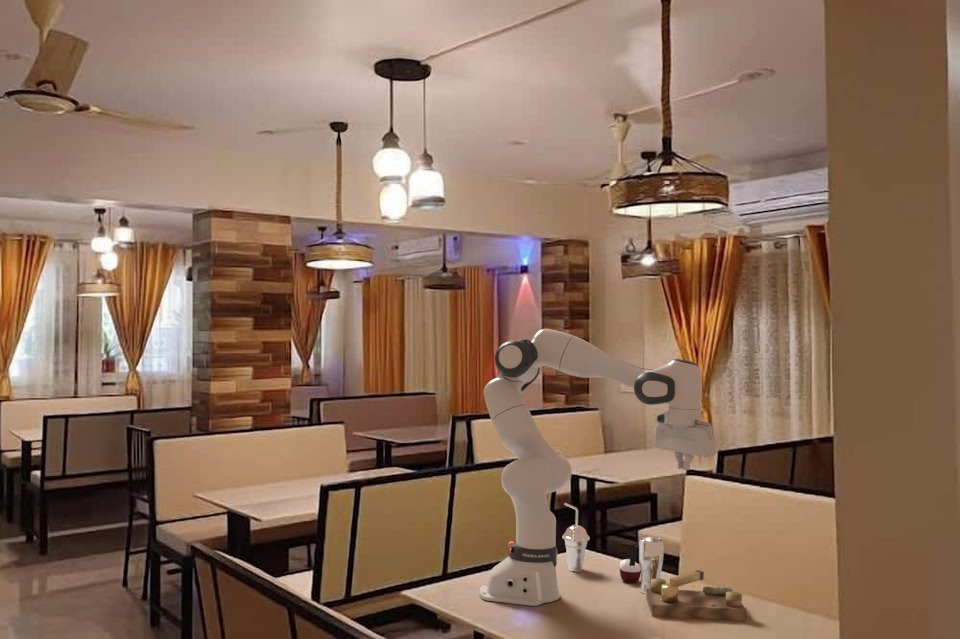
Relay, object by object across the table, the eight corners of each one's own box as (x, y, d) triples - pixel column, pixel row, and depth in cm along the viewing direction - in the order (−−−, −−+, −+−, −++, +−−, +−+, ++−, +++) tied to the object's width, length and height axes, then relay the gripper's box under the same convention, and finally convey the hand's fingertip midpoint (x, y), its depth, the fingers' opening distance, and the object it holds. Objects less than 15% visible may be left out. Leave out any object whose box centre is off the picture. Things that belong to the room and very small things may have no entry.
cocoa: (621, 577, 250) (621, 537, 251) (642, 579, 248) (642, 539, 249) (617, 585, 241) (616, 543, 242) (638, 586, 239) (638, 545, 240)
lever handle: (671, 603, 215) (671, 583, 216) (657, 598, 219) (658, 579, 219) (707, 592, 226) (707, 572, 226) (694, 588, 229) (694, 569, 229)
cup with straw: (567, 574, 251) (568, 508, 251) (557, 566, 260) (558, 502, 260) (593, 572, 253) (594, 507, 254) (582, 564, 262) (583, 501, 262)
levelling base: (652, 616, 215) (652, 593, 215) (646, 599, 229) (646, 577, 229) (745, 621, 213) (746, 597, 213) (734, 603, 227) (734, 581, 227)
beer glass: (662, 596, 232) (664, 543, 232) (637, 594, 233) (638, 541, 233) (662, 589, 238) (663, 537, 239) (638, 587, 240) (639, 535, 240)
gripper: (721, 422, 218) (720, 474, 217) (667, 414, 235) (666, 463, 235) (704, 423, 214) (703, 476, 214) (651, 415, 232) (650, 464, 232)
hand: (683, 469), depth 225 cm, fingers closed
